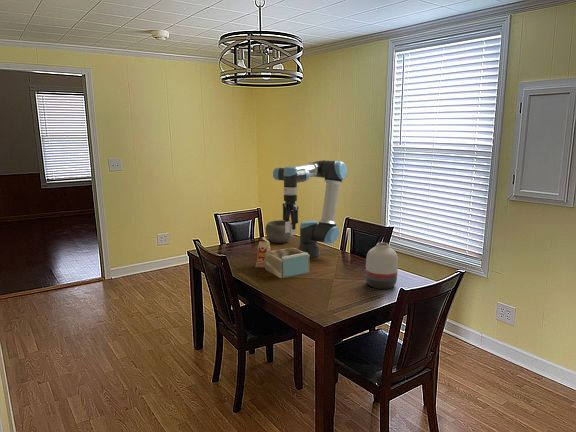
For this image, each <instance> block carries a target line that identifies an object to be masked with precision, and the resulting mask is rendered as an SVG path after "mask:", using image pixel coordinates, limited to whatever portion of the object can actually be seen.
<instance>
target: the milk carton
mask: <svg viewBox="0 0 576 432" xmlns="http://www.w3.org/2000/svg"><path fill="white" fill-rule="evenodd" d="M269 251H272V250H271V243H270V241H269V239H267V238H266V237H265V236H264V237H263V236H262V239H261V240H259V241H258V247H257V252H256V253H257V255H256V263H255V269H256V268H257V269H258V268H259V269H260V268H261V269H262V268H263V269H265V252H269Z"/></svg>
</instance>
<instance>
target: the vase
mask: <svg viewBox="0 0 576 432" xmlns="http://www.w3.org/2000/svg"><path fill="white" fill-rule="evenodd" d="M398 265H399V258H398V254H397V252H396V251H395V250H394V249H393V248H392V247H391V246H390V245H389V243H388V242H383V241H381V242H377V243H376V245H375V246H374V247H372V248H371V249H369V250H368V252H367V254H366V258H365V282H366V283H367V285H368V286H370V287H372V288H374V289H379V290H387V289H391V288H393V287H395V285H396V283H397V280H398V279H397V278H398V269H399V266H398Z"/></svg>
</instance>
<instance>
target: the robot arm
mask: <svg viewBox="0 0 576 432" xmlns="http://www.w3.org/2000/svg"><path fill="white" fill-rule="evenodd" d="M347 174H348V170H347V166H346V164H345V162H343V161H340V160H317V161H312V162H308V163H307V164H300V165H295V166H285V167H276V168H275V167H274V169H273V171H272V178H273V179H274V180H275V181H283V194H284V195H283V203H282V220H284V221H285V233H290V222H291V235H292V236H295V235H296V229H297V227H296V225H297V224H298V223H299V206H297V205H296V202H297V201H298V195H297V194H298V183H305V182H307V181H308V180H309V179H310V178H321V179H324V182H325V190H324V191H325V192H324V198H323V205H322V213H321V219H320V220H319V221H318V220H306V221H302V222H301V223H300V225H299V234H300V235H299V245H298V247H297V249H298V250H300V251H303V252H305V253H306V252H307V253H308V254H310V258H317V257H319V256H320V253H321V251H320V248H319V245H318V242H319V243H324V244H330V245H331V244H334V243H335V242H336V241H337V240H338V238H339V235H340V230H339V227H338V226H337V222H336V215H337V213H336V212H337V207H338V206H337V205H338V197H339V191H340V185H341V184H342V183H343V180H345V179H346V177H347ZM284 202H285V203H284ZM288 221H290V222H288Z"/></svg>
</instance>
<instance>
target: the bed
mask: <svg viewBox="0 0 576 432" xmlns="http://www.w3.org/2000/svg"><path fill="white" fill-rule="evenodd" d="M301 253H305V252H303V251H300V250H298V248H295V247H287V248H282V249H275V250H271V251H269V252H265V268H264V269H265V270H266V271H267V272H268V273H271V274H272V275H274V276H276V277H278V278H280V279H283V278H282V277H283V268H282V257H284V256H290V255H295V254H301ZM310 258H311V257H310V254H308V272H309V273H310V263H311V262H310V260H311V259H310Z"/></svg>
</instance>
